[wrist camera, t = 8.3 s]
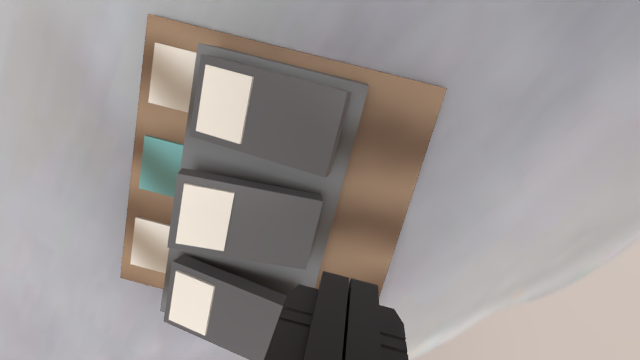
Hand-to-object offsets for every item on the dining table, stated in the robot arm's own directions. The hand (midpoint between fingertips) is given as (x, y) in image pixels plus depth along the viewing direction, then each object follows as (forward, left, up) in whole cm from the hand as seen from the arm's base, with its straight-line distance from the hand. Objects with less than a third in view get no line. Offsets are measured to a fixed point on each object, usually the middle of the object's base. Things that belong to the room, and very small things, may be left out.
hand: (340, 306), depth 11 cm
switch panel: (+5, -6, -21) cm, 22 cm away
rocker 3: (+12, -5, -15) cm, 20 cm away
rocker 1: (-2, -5, -15) cm, 17 cm away
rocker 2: (+5, -6, -15) cm, 17 cm away
